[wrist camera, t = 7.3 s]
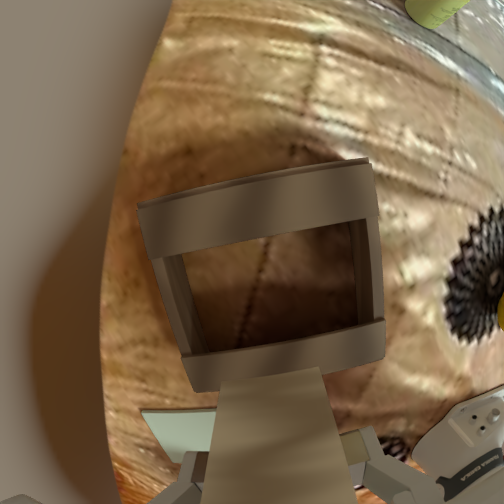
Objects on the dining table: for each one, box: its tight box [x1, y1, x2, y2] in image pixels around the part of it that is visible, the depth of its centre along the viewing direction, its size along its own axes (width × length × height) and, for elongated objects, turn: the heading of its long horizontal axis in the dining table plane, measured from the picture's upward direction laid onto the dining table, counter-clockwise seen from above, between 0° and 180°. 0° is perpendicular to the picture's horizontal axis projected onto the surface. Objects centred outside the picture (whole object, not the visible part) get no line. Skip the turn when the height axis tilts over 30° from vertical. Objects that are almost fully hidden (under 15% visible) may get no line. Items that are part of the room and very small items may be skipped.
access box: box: [136, 157, 386, 393], centre depth 24 cm, size 18×18×5 cm
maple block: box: [200, 367, 358, 504], centre depth 8 cm, size 4×4×7 cm
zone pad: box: [141, 408, 217, 463], centre depth 32 cm, size 12×12×1 cm
